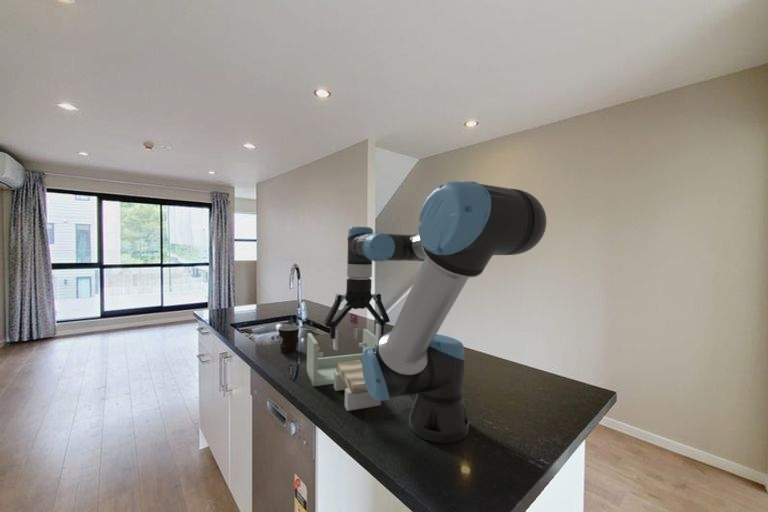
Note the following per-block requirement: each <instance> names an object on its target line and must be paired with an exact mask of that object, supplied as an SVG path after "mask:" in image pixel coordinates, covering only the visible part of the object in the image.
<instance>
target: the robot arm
mask: <svg viewBox="0 0 768 512" xmlns="http://www.w3.org/2000/svg"><path fill="white" fill-rule="evenodd" d="M418 222H419V223H420V225H418V227H417V228H418V233H415V234H399V233H398V234H396V233H384V232H374V230H373V228H372V227H369V226H350V227H349V229H348V233H347V260H346V261H347V264H346V268H347V269H346V277H348V278H347V279H346V288H345V289H346V292H345V294H340V293H336V294H335V297H334V298H335V299H334V302H333V304H332V306H331V308H330V310H329V312H328V314H327V316H326V318H325V320H324V323H323V324H324V325H325V326H326V328H330V329H329V337H330V339H331V340H332V348H333V350H334V351H335V352H336V351H339V350H338V348H339V327H337V326H338V325H340V322H341V321H342V320H343V319H344V318H345V316H347V314H348V313H350V312H351V310H352V309H353V310H359V309H360V310H364V309H365V308H366V309H367V310H368V311H369V313H370V315H372V317H373V318H374V319H375V320H376V321H377V322H378V323H377V322H376V323H375V334H374V335H375V344H376V345H377V347H376V348H370V349H366V350H365V351H364V353H363V352H362V353H363V356H362V371H363V377H364V381H365V385H366V388H367V390H368V392H369V394H370V396H371V397H372V398H373V399H374V400H376V401H381V402H383V401H390V400H393V399H398V398H402V397H406V396H412V395H415V398H414V401H413V403H412V407H411V410H410V411H409V417H408V421H409V422H408V425H409V428H410V430H411V431H412V432H413V433H414V434H415V435H416V436H417V437H419V438H421V439H424V440H426V441H428V442H431V443H436V444H437V443H438V444H453V443H458V442H460V441H462V440H464V439H465V438H467V436H468V435H469V430H470V428H469V427H470V423H469V422H470V421H469V417H468V413H467V410H466V407H465V406H466V405H465V403H464V398H463V396H464V395H463V394H464V375H465V361H466V358H465V347H464V344H463V343H462V342H461V341H460V340H458V339H457V338H453V337H450V336H446V335H443V334H438V332H439V330H440V328H441V326H442V325H443V323H444V321H445V319H446V318H447V317H448V315H449V313H450V311H451V309H452V307H453V306H454V304H455V302H456V300H457V299H458V297H459V295H460V293H461V292H462V290H463V289H464V287H465V286H466V283H467V282H468V280H469V278H470V279H471V278H477V277H479V276H480V275H482V273H483V272H484V270H485V269H486V267H487V265H488V263H490V262H489V261H490V260H491V259H492V257H494V256H516V255H520V254H524V253H527V252H528V251H530V250H532V249H533V248H535V247H536V246H537V245H538V244H539V243H540V241H541V240H542V238H543V237H544V235H545V232H546V229H547V215H546V212H545V209H544V206H543V205H542V203H541V201H539V200H538V199H537V198H536V197H535V196H533V194H531V193H529V192H527V191H525V190H521V189H517V188H507V187H502V186H497V185H495V186H494V185H488V184H484V183H483V184H482V183H479V182H477V181H468V180H467V181H466V180H465V181H454V180H453V181H448V182H445V183H444V184H441V185H439V186H437V187H436V188H435V189H434V190H433V191H432V192H430V194H429V195H428V196H427V198H426V200H425V202H424V203H423V205H422V208H421V210H420V212H419V219H418ZM387 261H393V262H394V261H395V262H396V261H398V262H399V261H403V262H404V261H406V262H407V261H408V262H411V261H412V262H414V261H415V262H422V264H421V266H420V269H419V270H418V273H417V275H416V277H415V279H414V281H413V284H412V286H411V287H410V290H409V292H408V295H407V297H406V299H405V300H404V301H405V302H404V303H403V306H402V308H401V310H400V312H399V315H398V317H397V319H396V321H395V322H394V325H393V328H392V329H391V331H388V332H386V333H385V334H384V330H385V329H384V328H385V326H386V324H387V323H390V322H391V320H390V317H389V315H388V313H387V311H386V308H385V306H384V304H383V302H382V295H381V293H378V292H375V293H372V281H373V280H372V279H371V277H372V276H373V275H372V274H373V262H387ZM372 299H373V300H374V302H375V304H376V307H377V308H378V311H379V313H380V314H381V316H380V314H378V313H377V311H376V309H375V308H374V307H373V306H372V304H371V303H370V302H371V301H372ZM344 300H345V301H346V303H345V304H344V305H343V307H342V308H341V310H340V311H339V312H338V310H339V308H340V305H341V304H342V302H344ZM337 312H338V313H337ZM336 314H337V315H336Z"/></svg>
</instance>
